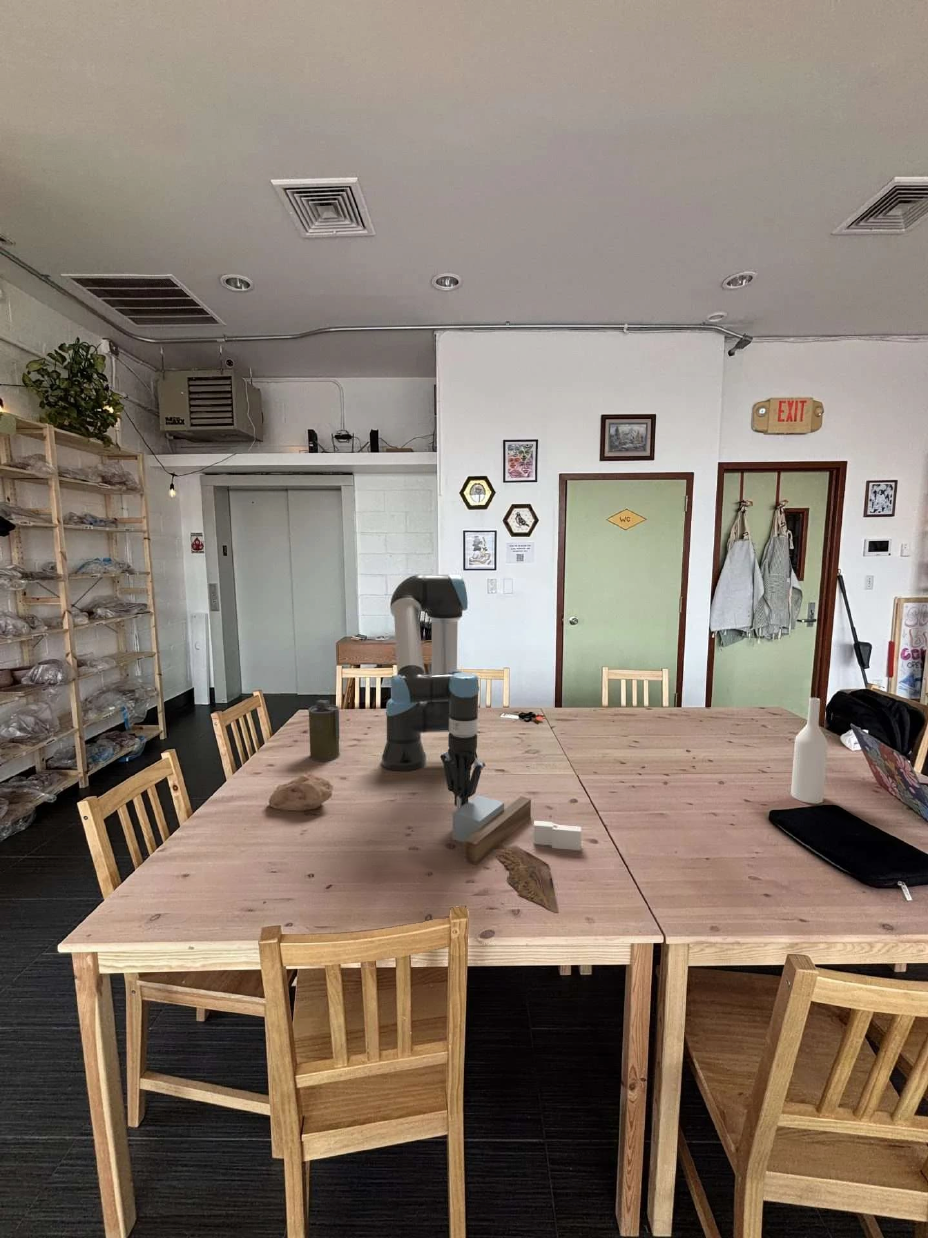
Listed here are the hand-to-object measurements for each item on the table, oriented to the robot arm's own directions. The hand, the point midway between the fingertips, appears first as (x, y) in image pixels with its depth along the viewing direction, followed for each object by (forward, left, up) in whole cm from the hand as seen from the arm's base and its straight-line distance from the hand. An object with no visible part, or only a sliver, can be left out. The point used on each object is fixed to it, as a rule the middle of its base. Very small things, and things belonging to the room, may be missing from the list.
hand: (460, 818), depth 144 cm
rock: (-43, -17, -2) cm, 47 cm away
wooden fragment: (+26, -11, -2) cm, 28 cm away
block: (+6, -1, -2) cm, 7 cm away
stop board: (+12, 0, -2) cm, 12 cm away
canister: (-67, +13, -2) cm, 68 cm away
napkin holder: (+25, +5, -2) cm, 26 cm away
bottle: (+76, +70, -2) cm, 103 cm away
